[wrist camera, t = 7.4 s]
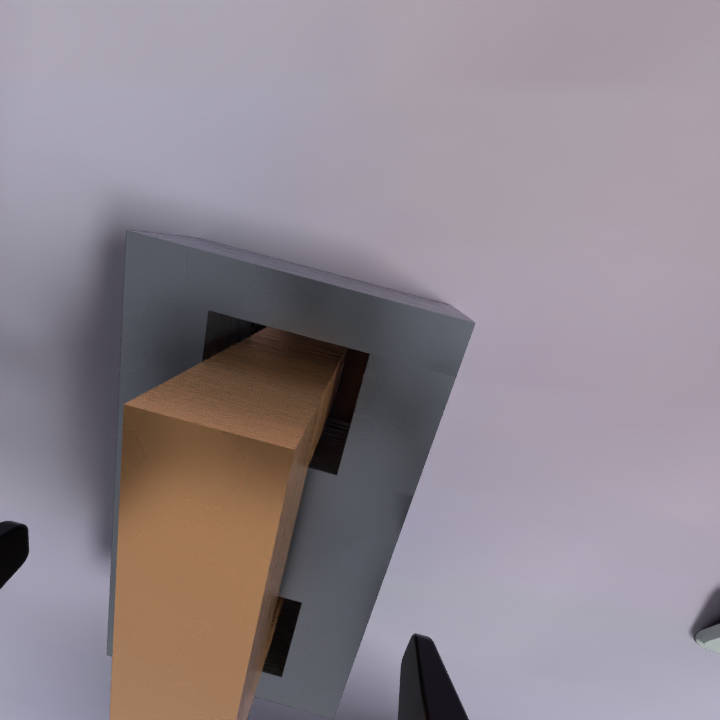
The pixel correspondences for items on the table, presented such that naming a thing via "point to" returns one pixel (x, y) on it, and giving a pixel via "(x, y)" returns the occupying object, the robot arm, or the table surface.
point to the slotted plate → (336, 444)
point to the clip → (212, 523)
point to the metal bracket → (709, 638)
